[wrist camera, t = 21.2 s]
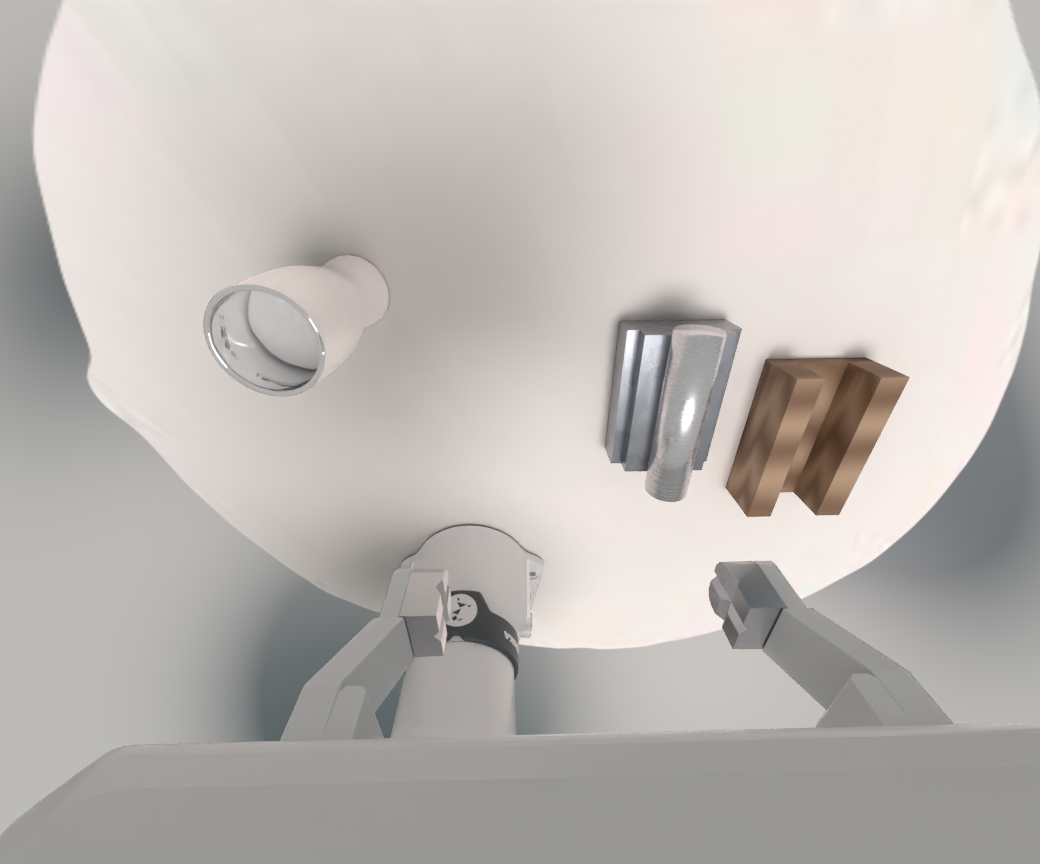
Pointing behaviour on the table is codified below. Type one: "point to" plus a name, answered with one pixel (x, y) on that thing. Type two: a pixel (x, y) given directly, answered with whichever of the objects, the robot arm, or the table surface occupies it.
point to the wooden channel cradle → (811, 431)
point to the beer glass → (294, 322)
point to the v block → (654, 389)
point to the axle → (683, 408)
